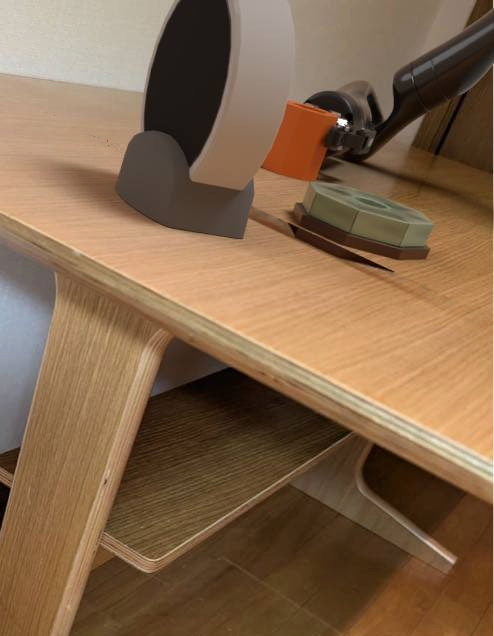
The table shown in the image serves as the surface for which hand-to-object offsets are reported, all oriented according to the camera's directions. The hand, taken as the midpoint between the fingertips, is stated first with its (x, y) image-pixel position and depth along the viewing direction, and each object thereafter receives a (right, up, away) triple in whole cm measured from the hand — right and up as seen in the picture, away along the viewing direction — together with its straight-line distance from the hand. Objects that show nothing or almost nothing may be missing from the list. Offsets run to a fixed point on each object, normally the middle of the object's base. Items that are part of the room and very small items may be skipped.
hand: (298, 127), depth 92 cm
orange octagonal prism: (0, -4, +5) cm, 6 cm away
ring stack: (+1, -19, -16) cm, 25 cm away
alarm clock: (-16, -18, -21) cm, 32 cm away
